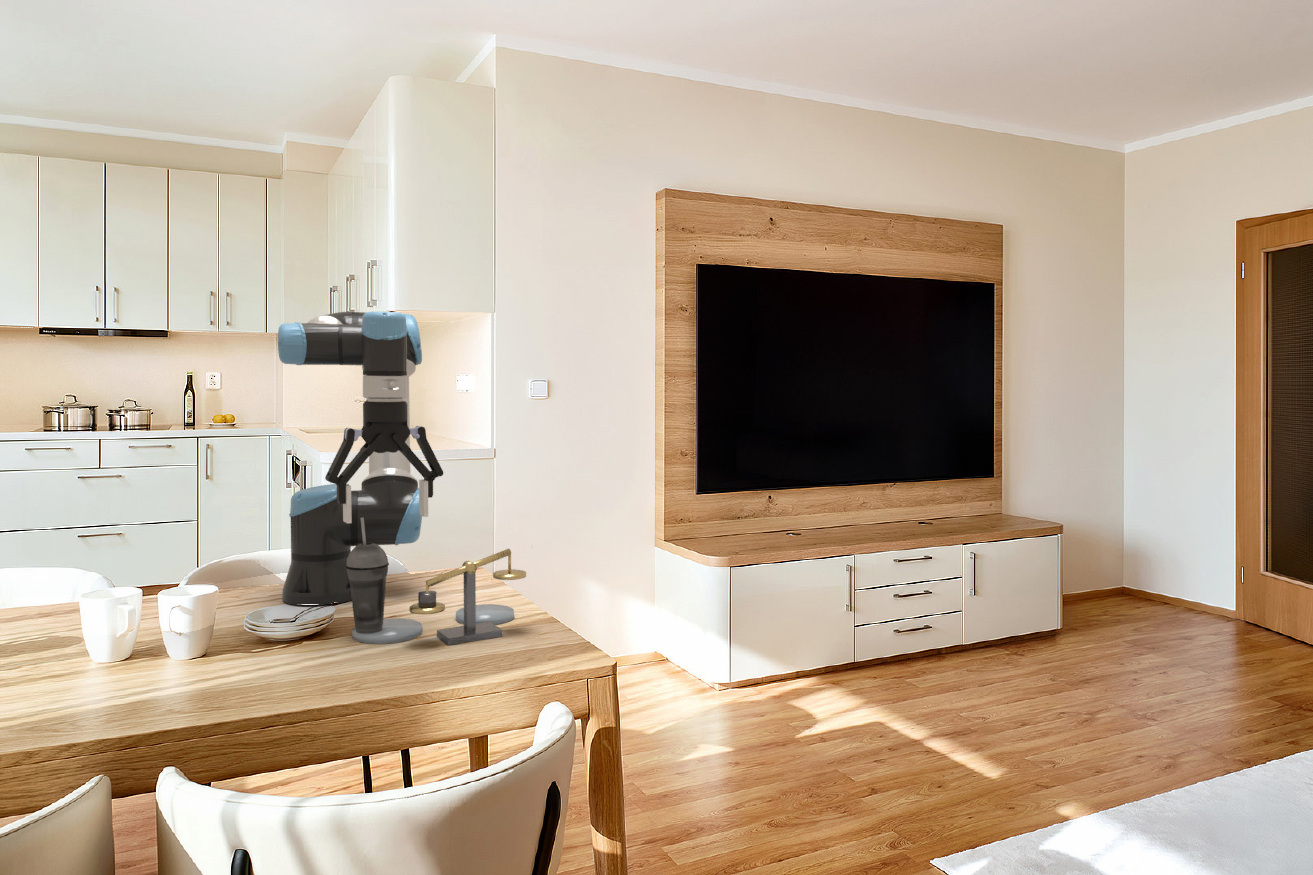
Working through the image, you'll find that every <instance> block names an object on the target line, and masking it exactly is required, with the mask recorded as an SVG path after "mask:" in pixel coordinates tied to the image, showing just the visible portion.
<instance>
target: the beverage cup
mask: <svg viewBox="0 0 1313 875" xmlns="http://www.w3.org/2000/svg"><path fill="white" fill-rule="evenodd" d="M361 527H362V537H363V543H361V544H359V545H357V546H354V547H353V549H351V552H350V554H349V556H348V558H347V565H346V569H347V574H348V578H349V581H350V589H351V598H352V600H351V603H352V604H351V605H352V613H353V614H352V615H353V622H354V627H356V632H358V633H374V632H378V631H380V630H382V625H383V619H385V618H384V617H385V616H384V615H385V603H386V602H385V599H386V584H387V583H386V582H387V576H388V570H389V565H390V564H389V559H388V556H387V553H386V552H385V550H384V549H383V548H382V547H381V545H377V544H374V543H366V537H365V527H364V517H363V518H361Z"/></svg>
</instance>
